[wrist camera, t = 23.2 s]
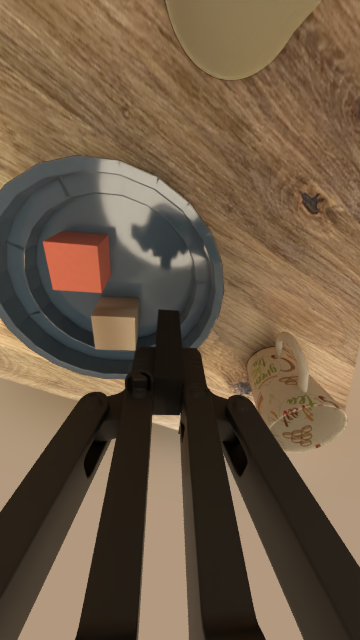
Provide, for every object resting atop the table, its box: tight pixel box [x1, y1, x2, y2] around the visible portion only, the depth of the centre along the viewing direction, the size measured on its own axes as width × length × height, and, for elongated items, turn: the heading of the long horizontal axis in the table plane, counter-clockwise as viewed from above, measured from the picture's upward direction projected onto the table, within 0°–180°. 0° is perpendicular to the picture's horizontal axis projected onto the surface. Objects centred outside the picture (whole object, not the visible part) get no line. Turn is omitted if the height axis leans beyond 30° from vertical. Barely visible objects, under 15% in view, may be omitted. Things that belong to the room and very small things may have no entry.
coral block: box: [43, 231, 111, 293], centre depth 20 cm, size 4×4×4 cm
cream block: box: [91, 297, 139, 351], centre depth 23 cm, size 4×4×4 cm
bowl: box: [0, 155, 224, 379], centre depth 21 cm, size 20×20×5 cm
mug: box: [247, 332, 348, 453], centre depth 26 cm, size 8×13×10 cm, turn 11°
